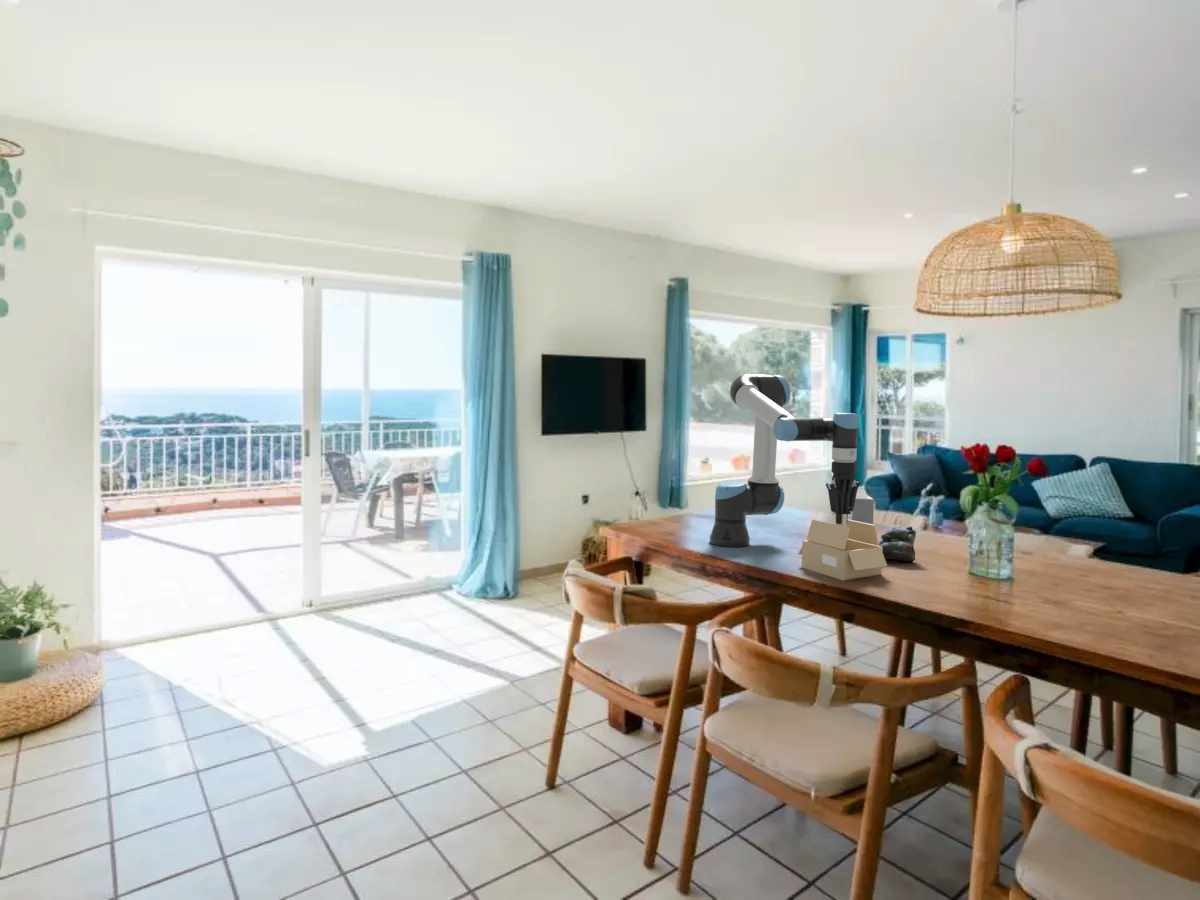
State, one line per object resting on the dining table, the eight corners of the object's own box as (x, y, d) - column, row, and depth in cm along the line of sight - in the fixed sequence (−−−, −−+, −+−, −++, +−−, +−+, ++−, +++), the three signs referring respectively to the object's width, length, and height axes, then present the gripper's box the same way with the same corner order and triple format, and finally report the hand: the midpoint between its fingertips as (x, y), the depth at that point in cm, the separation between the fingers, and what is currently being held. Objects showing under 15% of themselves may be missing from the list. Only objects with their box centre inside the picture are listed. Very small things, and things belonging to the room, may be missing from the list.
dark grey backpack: (864, 558, 248) (869, 521, 253) (888, 569, 252) (893, 532, 257) (898, 554, 235) (903, 515, 240) (924, 566, 239) (927, 527, 244)
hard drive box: (872, 554, 255) (874, 499, 254) (850, 552, 257) (852, 498, 255) (865, 545, 270) (867, 493, 269) (844, 544, 272) (846, 492, 270)
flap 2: (877, 545, 225) (878, 545, 225) (874, 525, 224) (874, 525, 224) (839, 536, 239) (840, 536, 239) (836, 517, 237) (836, 517, 238)
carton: (794, 565, 236) (795, 538, 235) (831, 560, 244) (832, 534, 243) (851, 583, 215) (852, 554, 214) (890, 577, 222) (891, 549, 222)
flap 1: (807, 540, 232) (806, 539, 232) (812, 519, 233) (812, 519, 232) (844, 549, 218) (843, 549, 218) (850, 528, 219) (849, 527, 218)
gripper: (838, 462, 220) (835, 537, 222) (867, 461, 226) (864, 534, 228) (820, 460, 227) (817, 533, 228) (849, 459, 233) (846, 530, 234)
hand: (841, 533), depth 228 cm, fingers closed
